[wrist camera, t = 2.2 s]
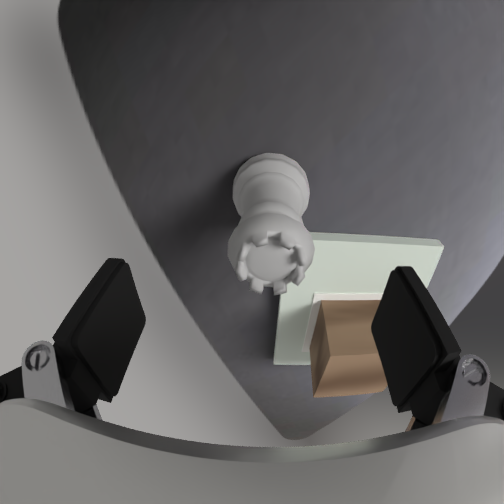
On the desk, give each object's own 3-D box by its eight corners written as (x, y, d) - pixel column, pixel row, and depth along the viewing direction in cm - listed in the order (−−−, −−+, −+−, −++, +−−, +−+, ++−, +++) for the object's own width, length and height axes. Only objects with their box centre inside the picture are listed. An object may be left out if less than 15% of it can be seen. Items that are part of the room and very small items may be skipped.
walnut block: (321, 300, 19) (330, 355, 15) (393, 299, 19) (413, 349, 15) (309, 348, 23) (313, 397, 18) (371, 345, 22) (382, 391, 18)
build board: (285, 231, 18) (285, 239, 17) (438, 239, 17) (444, 247, 16) (273, 356, 25) (273, 365, 24) (385, 352, 25) (387, 361, 24)
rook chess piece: (240, 222, 17) (221, 316, 11) (227, 155, 15) (192, 217, 8) (309, 216, 17) (332, 308, 10) (305, 147, 14) (336, 203, 8)
